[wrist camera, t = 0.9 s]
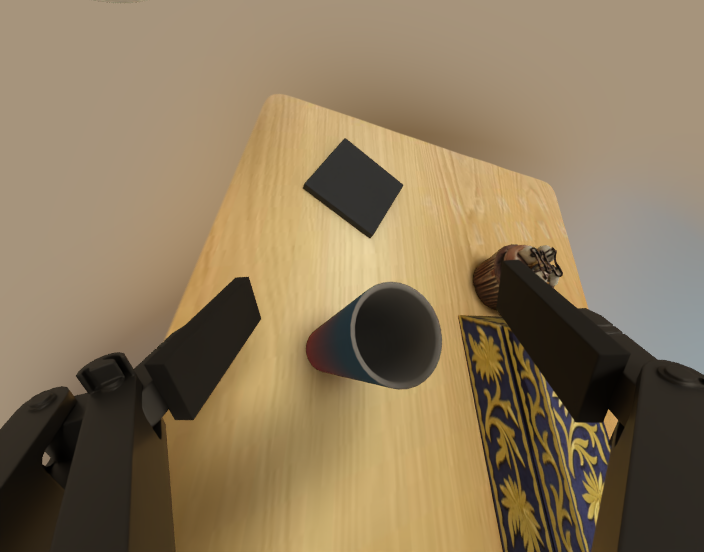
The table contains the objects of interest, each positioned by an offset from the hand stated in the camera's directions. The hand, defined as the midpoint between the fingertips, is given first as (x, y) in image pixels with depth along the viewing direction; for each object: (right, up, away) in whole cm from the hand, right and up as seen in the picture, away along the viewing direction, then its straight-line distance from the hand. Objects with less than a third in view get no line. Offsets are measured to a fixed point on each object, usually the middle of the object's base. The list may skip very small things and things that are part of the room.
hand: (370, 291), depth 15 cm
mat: (0, +13, +25) cm, 28 cm away
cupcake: (+21, -1, +30) cm, 36 cm away
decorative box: (+20, -19, +23) cm, 36 cm away
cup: (-4, -7, +16) cm, 18 cm away
